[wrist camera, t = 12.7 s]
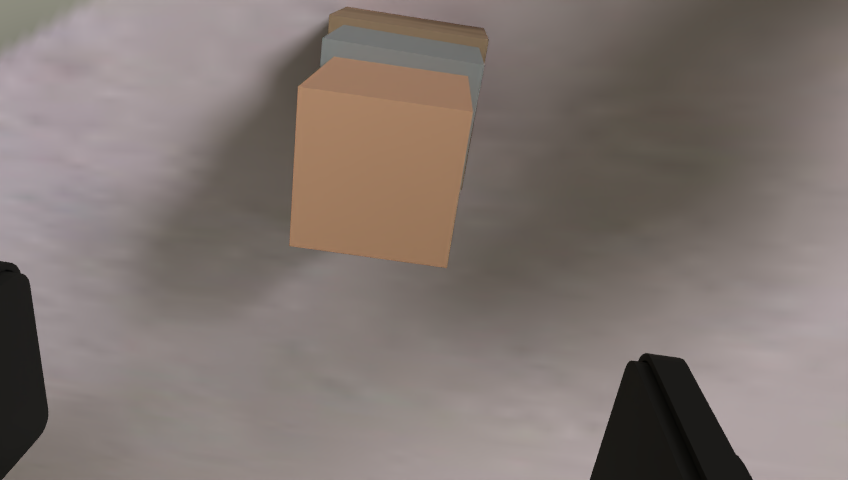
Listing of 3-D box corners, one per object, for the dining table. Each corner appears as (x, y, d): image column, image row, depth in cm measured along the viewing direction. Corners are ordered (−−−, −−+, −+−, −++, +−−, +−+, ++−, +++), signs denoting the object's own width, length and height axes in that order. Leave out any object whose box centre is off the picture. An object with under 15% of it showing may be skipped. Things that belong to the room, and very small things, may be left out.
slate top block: (343, 24, 28) (322, 37, 23) (479, 47, 28) (484, 65, 23) (330, 156, 30) (309, 191, 26) (455, 176, 30) (455, 215, 26)
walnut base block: (347, 6, 32) (329, 14, 28) (483, 28, 32) (488, 39, 28) (334, 140, 35) (317, 167, 31) (460, 159, 35) (461, 189, 31)
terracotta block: (333, 56, 24) (297, 86, 18) (468, 76, 24) (472, 112, 18) (324, 184, 26) (289, 246, 20) (447, 201, 26) (446, 267, 20)
